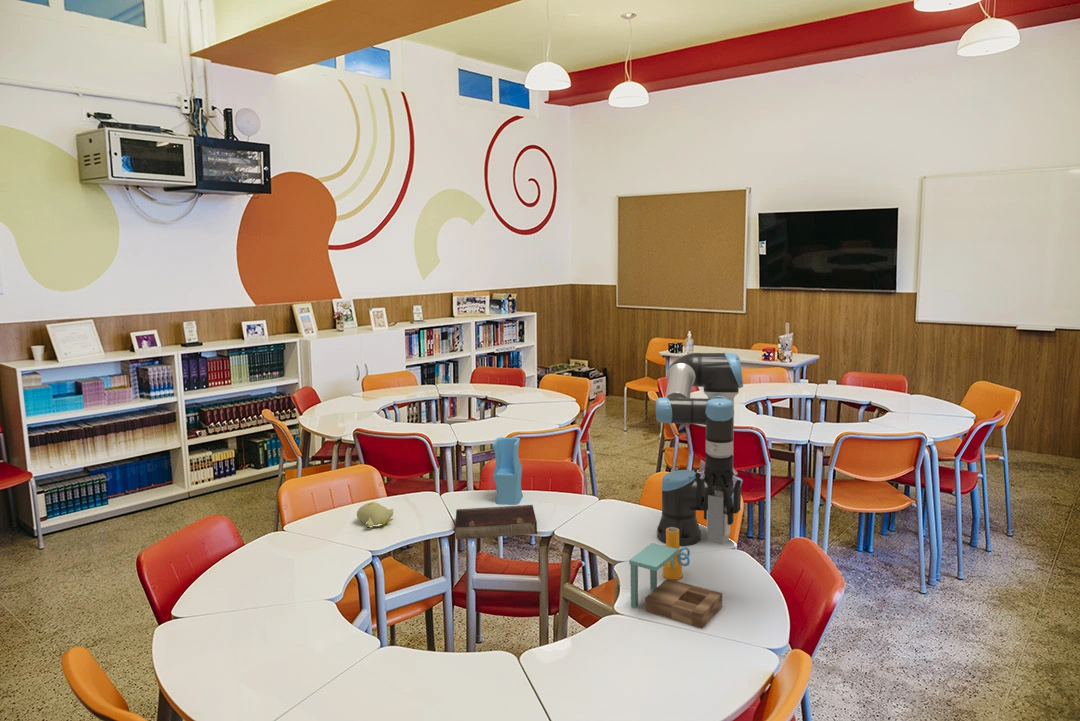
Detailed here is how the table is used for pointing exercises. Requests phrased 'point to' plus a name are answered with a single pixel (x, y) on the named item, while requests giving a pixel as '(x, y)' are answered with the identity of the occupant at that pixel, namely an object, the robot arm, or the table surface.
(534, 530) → the hardback book
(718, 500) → the peg
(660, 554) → the teal miniature table
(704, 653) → the table surface
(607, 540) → the table surface
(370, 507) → the toy
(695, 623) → the socket block
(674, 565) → the cylinder
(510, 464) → the blue high-backed chair
